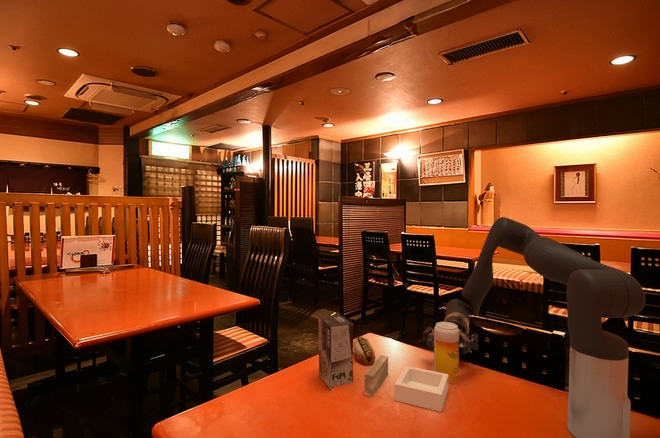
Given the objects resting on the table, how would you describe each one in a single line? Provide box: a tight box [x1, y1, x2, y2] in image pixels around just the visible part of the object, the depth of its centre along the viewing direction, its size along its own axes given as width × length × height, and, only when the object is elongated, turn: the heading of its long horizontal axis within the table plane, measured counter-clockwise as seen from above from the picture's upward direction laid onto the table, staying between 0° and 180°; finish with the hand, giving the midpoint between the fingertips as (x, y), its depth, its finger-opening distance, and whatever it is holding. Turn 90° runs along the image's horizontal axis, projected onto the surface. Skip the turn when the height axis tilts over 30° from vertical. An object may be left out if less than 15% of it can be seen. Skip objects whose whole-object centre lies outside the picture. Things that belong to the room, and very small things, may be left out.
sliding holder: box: [393, 365, 449, 413], centre depth 84 cm, size 10×10×4 cm
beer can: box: [433, 321, 460, 385], centre depth 92 cm, size 6×6×15 cm
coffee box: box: [318, 314, 354, 391], centre depth 93 cm, size 9×6×16 cm
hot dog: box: [353, 336, 376, 366], centre depth 106 cm, size 5×13×5 cm, turn 6°
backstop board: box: [364, 355, 389, 398], centre depth 85 cm, size 20×12×6 cm, turn 64°
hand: (447, 347), depth 93 cm, fingers open, 8 cm apart
